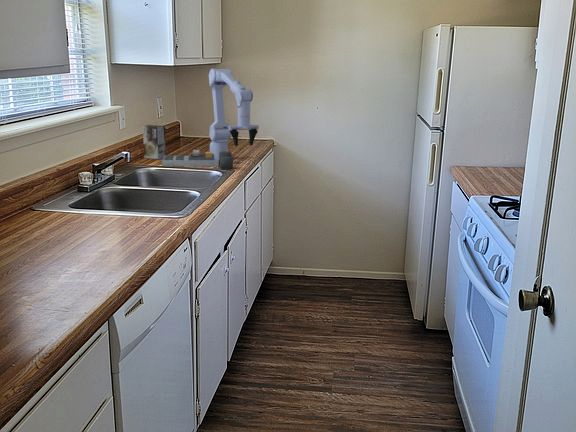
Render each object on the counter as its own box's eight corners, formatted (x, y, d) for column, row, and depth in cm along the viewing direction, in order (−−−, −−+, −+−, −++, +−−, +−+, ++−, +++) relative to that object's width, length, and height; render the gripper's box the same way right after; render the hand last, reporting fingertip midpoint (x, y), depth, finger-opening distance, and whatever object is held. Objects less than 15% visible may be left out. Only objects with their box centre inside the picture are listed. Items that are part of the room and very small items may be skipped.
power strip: (218, 161, 285) (218, 149, 283) (218, 166, 272) (218, 153, 271) (164, 161, 281) (163, 149, 279) (162, 166, 269) (161, 153, 267)
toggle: (212, 158, 276) (212, 151, 275) (212, 159, 272) (212, 153, 272) (205, 158, 276) (205, 151, 275) (205, 159, 272) (205, 153, 271)
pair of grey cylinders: (231, 161, 286) (231, 151, 285) (233, 169, 266) (233, 158, 265) (219, 161, 286) (219, 151, 284) (220, 169, 265) (220, 158, 264)
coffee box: (166, 157, 293) (165, 125, 289) (158, 159, 287) (157, 126, 283) (151, 156, 296) (150, 124, 292) (143, 157, 291) (142, 125, 287)
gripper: (232, 117, 261) (232, 147, 264) (261, 116, 268) (261, 146, 271) (226, 115, 267) (226, 145, 270) (255, 115, 274) (254, 143, 277)
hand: (243, 145), depth 271 cm, fingers open, 7 cm apart
